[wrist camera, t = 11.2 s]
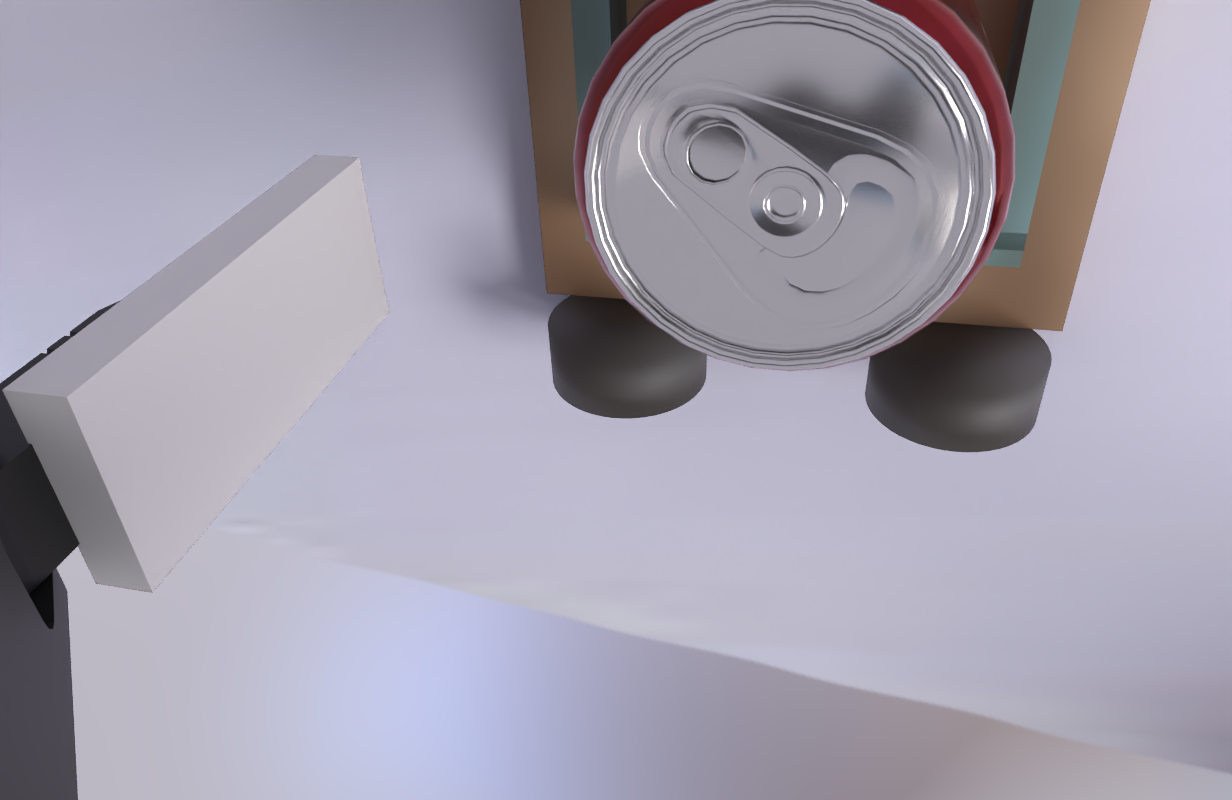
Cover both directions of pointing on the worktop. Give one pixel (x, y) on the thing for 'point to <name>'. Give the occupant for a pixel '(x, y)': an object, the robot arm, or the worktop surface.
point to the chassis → (965, 332)
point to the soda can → (795, 172)
